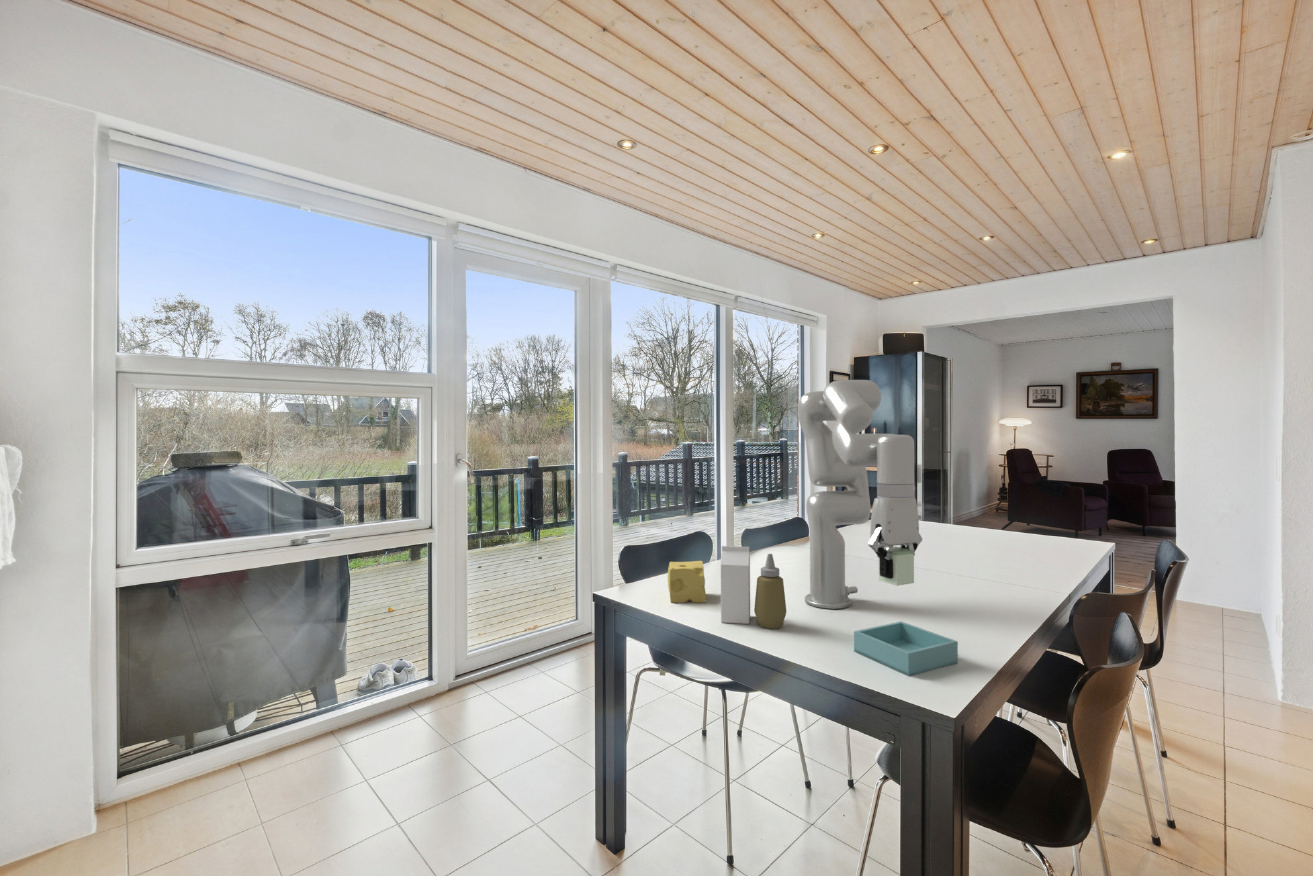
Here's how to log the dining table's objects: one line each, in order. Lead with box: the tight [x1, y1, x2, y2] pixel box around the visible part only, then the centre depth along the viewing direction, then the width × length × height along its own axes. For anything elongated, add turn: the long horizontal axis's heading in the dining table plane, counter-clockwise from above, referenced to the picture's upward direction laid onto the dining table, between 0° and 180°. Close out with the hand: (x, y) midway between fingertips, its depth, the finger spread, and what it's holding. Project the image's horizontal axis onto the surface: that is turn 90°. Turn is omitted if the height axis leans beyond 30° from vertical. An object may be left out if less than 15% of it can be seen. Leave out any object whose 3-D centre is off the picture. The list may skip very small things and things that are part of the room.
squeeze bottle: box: [753, 553, 787, 629], centre depth 148 cm, size 8×8×18 cm
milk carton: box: [720, 545, 751, 625], centre depth 153 cm, size 7×7×19 cm
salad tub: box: [878, 545, 916, 587], centre depth 127 cm, size 5×5×7 cm
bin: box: [853, 621, 959, 677], centre depth 127 cm, size 15×15×4 cm
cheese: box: [667, 560, 707, 604], centre depth 173 cm, size 10×11×10 cm
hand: (896, 574), depth 127 cm, fingers closed on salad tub, 5 cm apart
